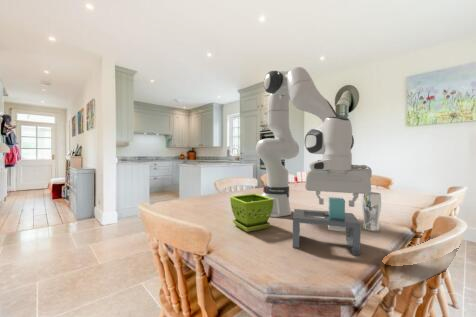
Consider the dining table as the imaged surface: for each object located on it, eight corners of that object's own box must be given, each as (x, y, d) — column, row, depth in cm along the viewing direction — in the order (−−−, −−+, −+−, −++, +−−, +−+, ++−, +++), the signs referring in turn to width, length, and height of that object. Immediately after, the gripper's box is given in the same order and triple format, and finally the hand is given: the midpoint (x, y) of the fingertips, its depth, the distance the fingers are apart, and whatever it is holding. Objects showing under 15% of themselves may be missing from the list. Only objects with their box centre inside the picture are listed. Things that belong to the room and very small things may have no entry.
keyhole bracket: (292, 247, 73) (292, 217, 73) (294, 234, 84) (294, 209, 84) (360, 255, 67) (360, 223, 67) (352, 241, 79) (352, 213, 78)
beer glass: (382, 229, 91) (383, 193, 91) (378, 233, 86) (379, 195, 86) (364, 225, 96) (364, 191, 96) (359, 229, 91) (359, 193, 91)
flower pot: (229, 224, 96) (229, 196, 96) (255, 220, 103) (255, 193, 103) (245, 235, 84) (245, 202, 84) (274, 229, 91) (274, 198, 91)
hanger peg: (329, 229, 73) (329, 199, 73) (327, 225, 78) (327, 196, 77) (345, 231, 71) (346, 200, 71) (343, 226, 76) (343, 197, 76)
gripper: (369, 164, 74) (368, 205, 74) (305, 163, 80) (305, 200, 80) (374, 165, 68) (373, 210, 68) (305, 164, 74) (304, 204, 74)
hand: (336, 205), depth 75 cm, fingers open, 8 cm apart
